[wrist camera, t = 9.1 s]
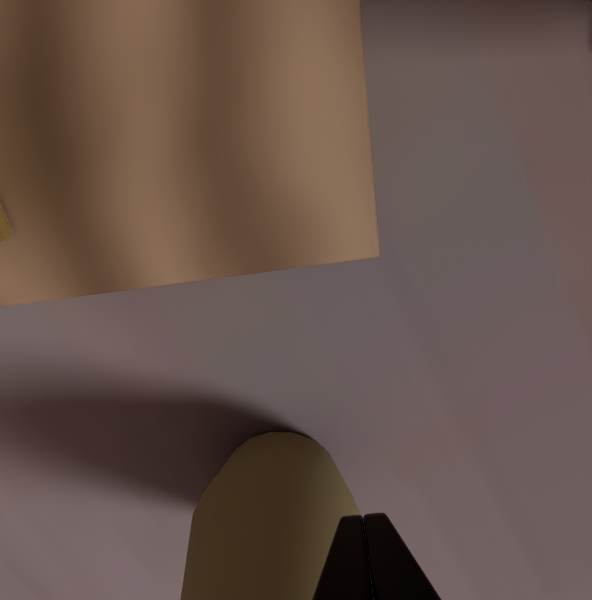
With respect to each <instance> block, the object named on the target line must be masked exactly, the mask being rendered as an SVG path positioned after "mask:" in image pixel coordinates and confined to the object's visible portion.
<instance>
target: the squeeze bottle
mask: <svg viewBox="0 0 592 600" xmlns="http://www.w3.org/2000/svg"><path fill="white" fill-rule="evenodd" d="M349 515H361V514H360V511H359V509H358V507H357V505H356V503H355V501H354V498H353V496H352V494H351V493H350V491H349V489H348V487H347V485H346V484H345V482H344V480H343V478H342V476H341V474H340V473H339V471H338V469H337V467H336V465H335V463H334V462H333V460H332V458H331V456H330V454H329V453H328V452H327V451H326V450H325V449H324V448H323V447H321V446H320V445H319V444H318V443H317V442H316V441H314V440H313V439H310V438H307V437H304V436H302V435H299V434H296V433H293V432H268V433H265V434H262V435H258V436H255V437H251V438H249V439H248V440H247V441H245V442H244V443H243V444H242V445H240V446H239V447H238V448H236V449H235V450H234V452H233V453H232V454H231V456H230V457H229V458H228V460H227V461H226V462H225V464H224V465H223V467H222V468H221V469H220V471H219V472H218V473H217V475H216V476H215V477H214V479H213V480H212V482H211V483H210V484H209V486H208V487H207V488H206V490H205V491H204V493H203V495H202V497H201V499H200V501H199V503H198V505H197V507H196V509H195V511H194V513H193V517H192V524H191V531H190V538H189V545H188V552H187V559H186V566H185V573H184V580H183V587H182V594H181V600H312V599H313V596H314V593H315V590H316V587H317V584H318V581H319V578H320V575H321V572H322V570H323V567H324V564H325V561H326V558H327V555H328V552H329V549H330V546H331V543H332V541H333V538H334V535H335V532H336V529H337V526H338V523H339V520H340V519H341V517H343V516H349Z"/></svg>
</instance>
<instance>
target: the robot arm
mask: <svg viewBox="0 0 592 600" xmlns="http://www.w3.org/2000/svg"><path fill="white" fill-rule="evenodd" d="M364 527H365V529H364ZM365 535H366V537H365ZM366 543H367V545H366ZM367 551H368V552H367ZM368 559H369V560H368ZM369 567H370V568H369ZM370 574H371V576H370ZM371 582H372V584H371ZM372 590H373V592H372ZM373 598H374V600H441V598H440V597H439V595H438V594H437V592H436V591H435V589H434V588H433V586H432V585H431V583H430V581H429V580H428V578H427V577H426V575H425V574H424V572H423V571H422V569H421V567H420V566H419V564H418V563H417V561H416V560H415V558H414V557H413V555H412V554H411V552H410V550H409V549H408V547H407V546H406V544H405V543H404V541H403V540H402V538H401V537H400V535H399V533H398V532H397V530H396V529H395V527H394V526H393V524H392V523H391V521H390V520H389V518H388V517H387V515H386V514H384V513H372V514H366V515H364V521H363V517H362V516H361V515H349V516H343V517H341V519H340V520H339V523H338V526H337V529H336V532H335V535H334V538H333V541H332V543H331V546H330V549H329V552H328V555H327V558H326V561H325V564H324V567H323V570H322V572H321V575H320V578H319V581H318V584H317V587H316V590H315V593H314V596H313V599H312V600H373Z"/></svg>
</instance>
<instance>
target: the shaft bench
mask: <svg viewBox="0 0 592 600" xmlns="http://www.w3.org/2000/svg"><path fill="white" fill-rule="evenodd" d="M0 203H1V205H2V207H3V210H4V212H5V215H6V217H7V220H8V222H9V224H10V227H11V229H12V232H13V234H14V235H13V236H11V237H9V238H7V239H6V240H4V241H2V242H0V307H1V306H9V305H16V304H24V303H31V302H39V301H47V300H54V299H62V298H69V297H77V296H85V295H92V294H100V293H107V292H115V291H123V290H130V289H138V288H145V287H153V286H161V285H168V284H176V283H183V282H191V281H199V280H206V279H214V278H221V277H229V276H237V275H244V274H252V273H260V272H267V271H275V270H282V269H290V268H298V267H305V266H313V265H320V264H328V263H336V262H343V261H351V260H358V259H366V258H374V257H380V256H379V244H378V231H377V219H376V206H375V193H374V181H373V168H372V155H371V143H370V130H369V117H368V105H367V92H366V80H365V67H364V54H363V42H362V29H361V16H360V4H359V0H0Z"/></svg>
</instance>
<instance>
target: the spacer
mask: <svg viewBox="0 0 592 600" xmlns="http://www.w3.org/2000/svg"><path fill="white" fill-rule="evenodd" d="M13 235H14V234H13V232H12V229H11V227H10V224H9V222H8V220H7V217H6V215H5V212H4V210H3V207H2V205H1V203H0V242H2V241H4V240H6V239H7V238H9V237H11V236H13Z"/></svg>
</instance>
